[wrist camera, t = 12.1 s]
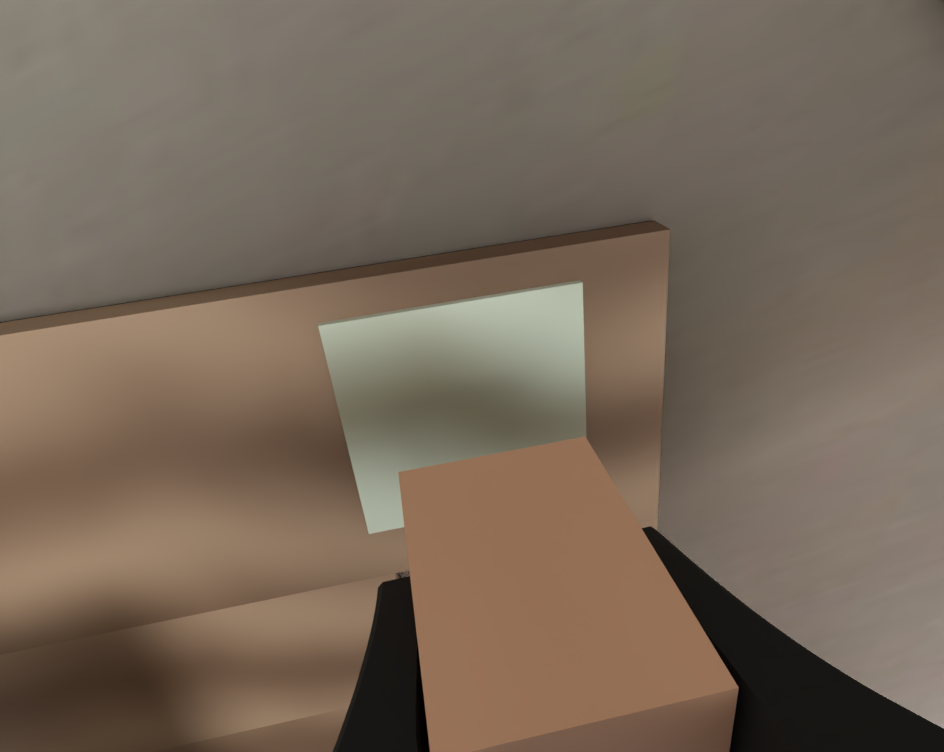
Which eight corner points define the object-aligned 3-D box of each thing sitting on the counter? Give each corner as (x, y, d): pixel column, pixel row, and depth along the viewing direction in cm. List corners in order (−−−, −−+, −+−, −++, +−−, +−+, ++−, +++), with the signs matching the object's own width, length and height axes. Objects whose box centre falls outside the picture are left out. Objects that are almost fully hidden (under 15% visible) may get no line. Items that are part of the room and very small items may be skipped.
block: (588, 573, 15) (715, 849, 10) (425, 608, 15) (467, 914, 10) (585, 436, 13) (739, 688, 8) (398, 471, 13) (431, 760, 8)
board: (639, 697, 27) (712, 860, 22) (39, 839, 25) (-50, 1063, 19) (654, 220, 17) (793, 297, 12) (-341, 376, 15) (-743, 563, 9)
